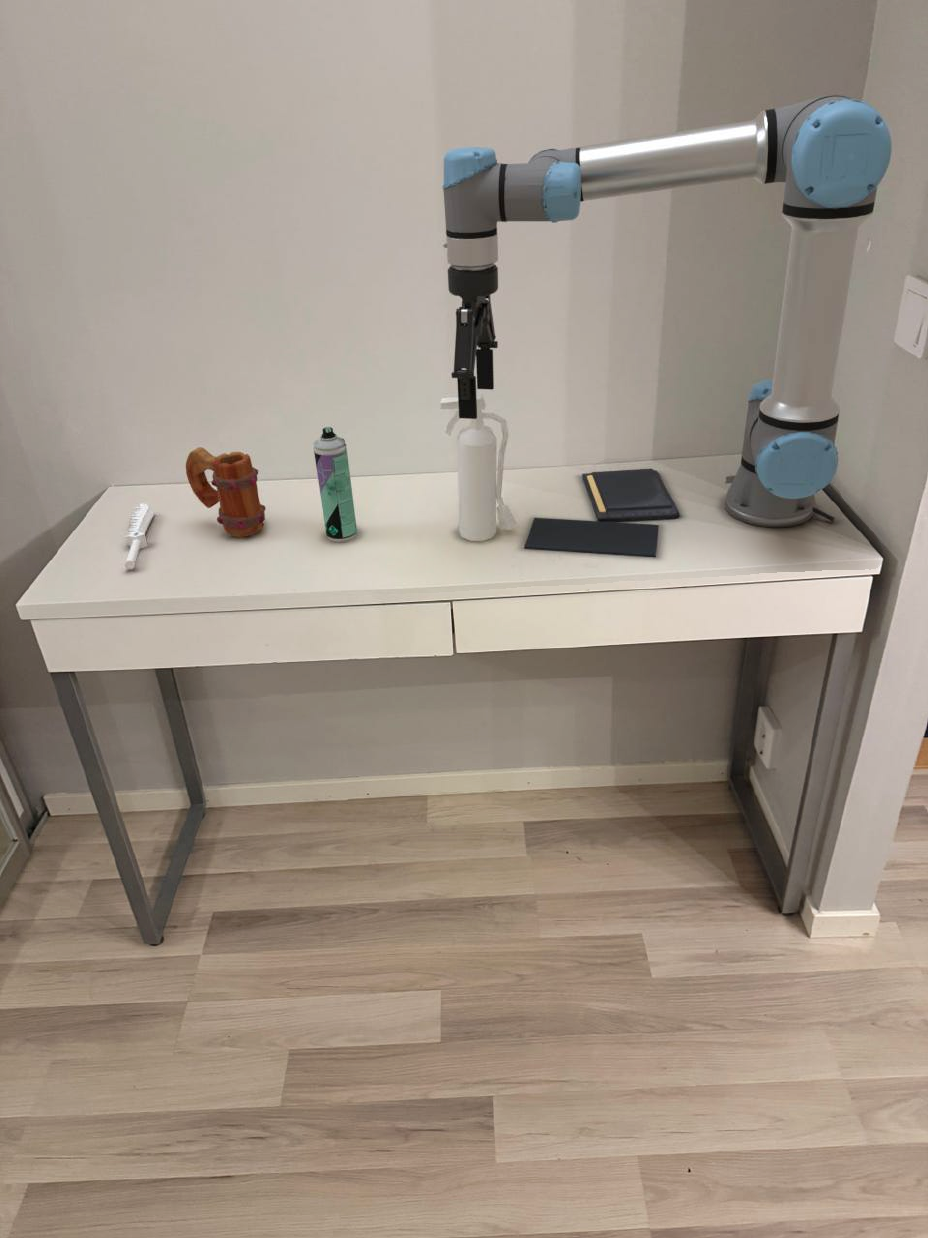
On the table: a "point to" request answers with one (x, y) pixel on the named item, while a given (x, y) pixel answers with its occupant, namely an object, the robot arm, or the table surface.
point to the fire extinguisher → (479, 474)
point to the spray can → (335, 487)
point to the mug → (228, 489)
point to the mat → (593, 537)
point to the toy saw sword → (138, 532)
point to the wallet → (629, 495)
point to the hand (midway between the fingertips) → (477, 402)
